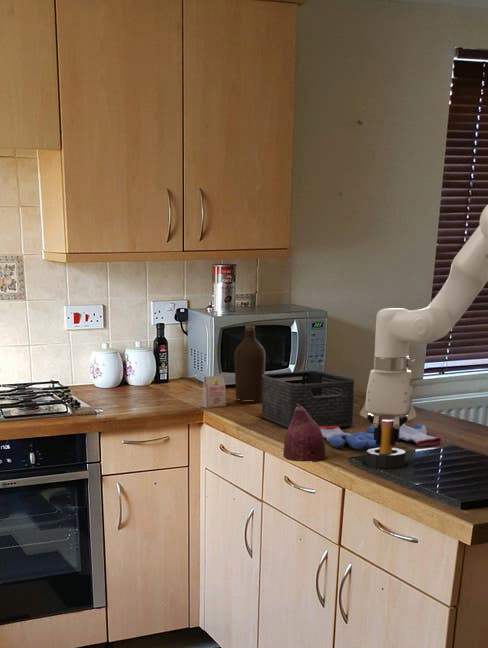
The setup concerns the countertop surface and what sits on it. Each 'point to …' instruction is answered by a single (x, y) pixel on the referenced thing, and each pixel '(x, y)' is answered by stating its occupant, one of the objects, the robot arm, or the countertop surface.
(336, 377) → the storage bin
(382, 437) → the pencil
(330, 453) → the countertop surface
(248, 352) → the brown bottle
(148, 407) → the countertop surface
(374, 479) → the countertop surface
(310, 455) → the vegetable
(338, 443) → the pair of gloves
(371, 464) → the tape
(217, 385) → the pink carton
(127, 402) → the countertop surface
